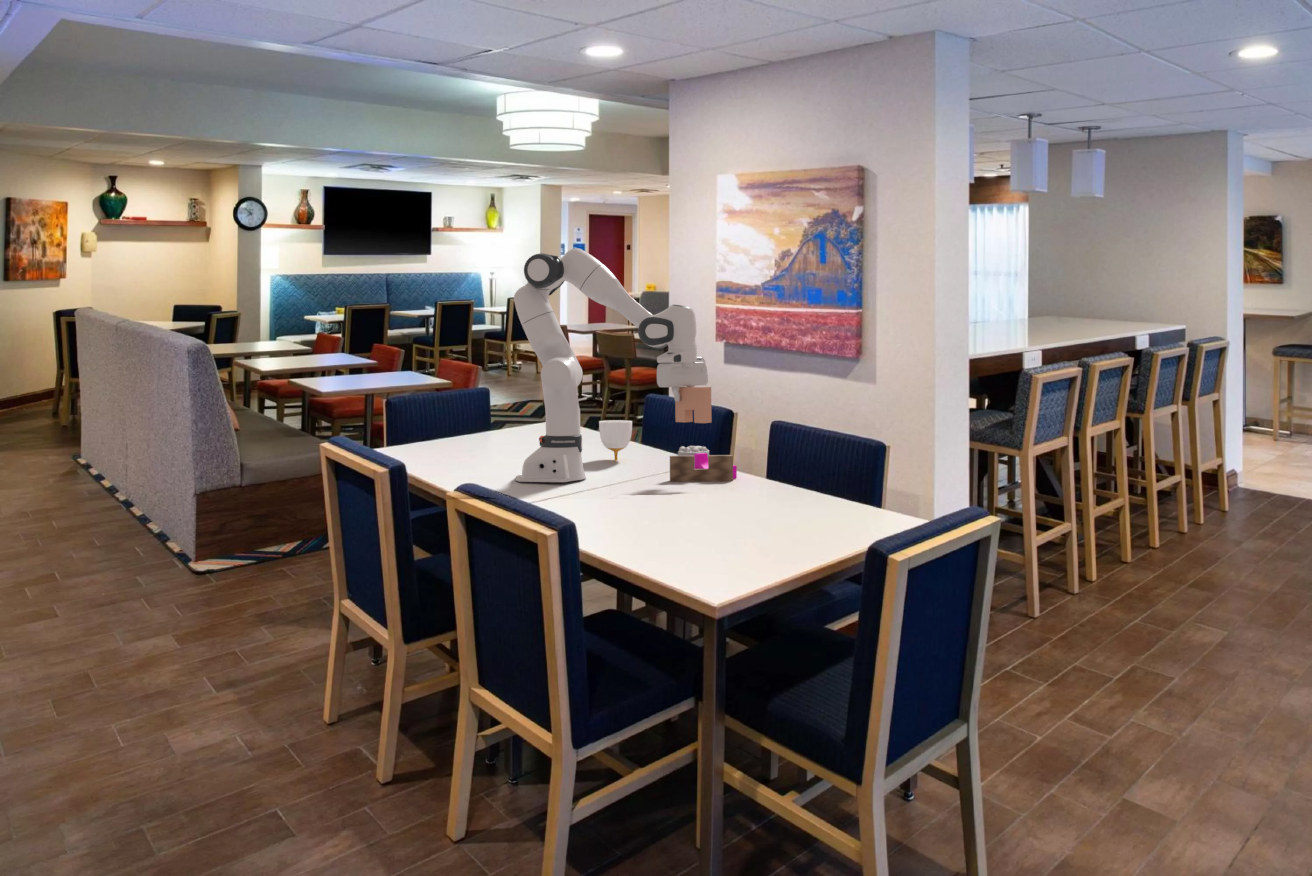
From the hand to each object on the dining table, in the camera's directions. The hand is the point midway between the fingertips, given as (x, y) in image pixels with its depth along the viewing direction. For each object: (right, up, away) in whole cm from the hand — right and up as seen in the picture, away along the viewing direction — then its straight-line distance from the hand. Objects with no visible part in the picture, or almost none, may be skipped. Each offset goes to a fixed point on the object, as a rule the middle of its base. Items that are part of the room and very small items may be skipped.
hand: (683, 400), depth 306 cm
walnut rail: (+6, -25, +5) cm, 26 cm away
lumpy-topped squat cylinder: (+4, -24, +30) cm, 38 cm away
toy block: (+11, -25, +15) cm, 31 cm away
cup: (-23, -23, +36) cm, 49 cm away
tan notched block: (+3, -7, -2) cm, 8 cm away
